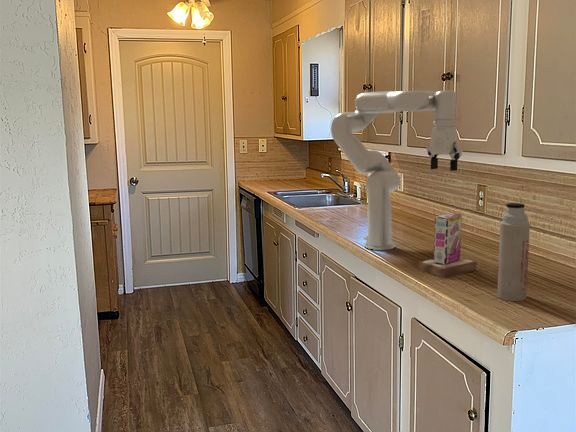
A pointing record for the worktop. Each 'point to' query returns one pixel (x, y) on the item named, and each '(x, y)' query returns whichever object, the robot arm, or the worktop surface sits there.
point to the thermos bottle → (513, 253)
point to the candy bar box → (447, 238)
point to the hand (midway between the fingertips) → (443, 169)
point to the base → (447, 267)
